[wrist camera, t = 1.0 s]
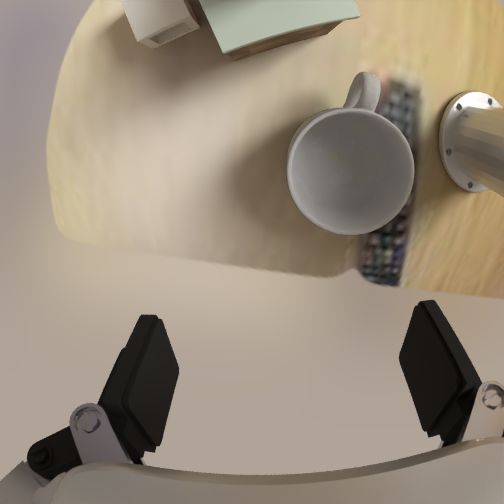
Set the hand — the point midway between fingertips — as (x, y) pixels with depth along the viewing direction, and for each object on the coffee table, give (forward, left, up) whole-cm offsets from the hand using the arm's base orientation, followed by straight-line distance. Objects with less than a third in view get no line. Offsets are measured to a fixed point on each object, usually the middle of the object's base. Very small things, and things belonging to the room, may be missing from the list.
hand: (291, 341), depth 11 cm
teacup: (-8, -1, -23) cm, 24 cm away
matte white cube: (+3, -20, -23) cm, 31 cm away
